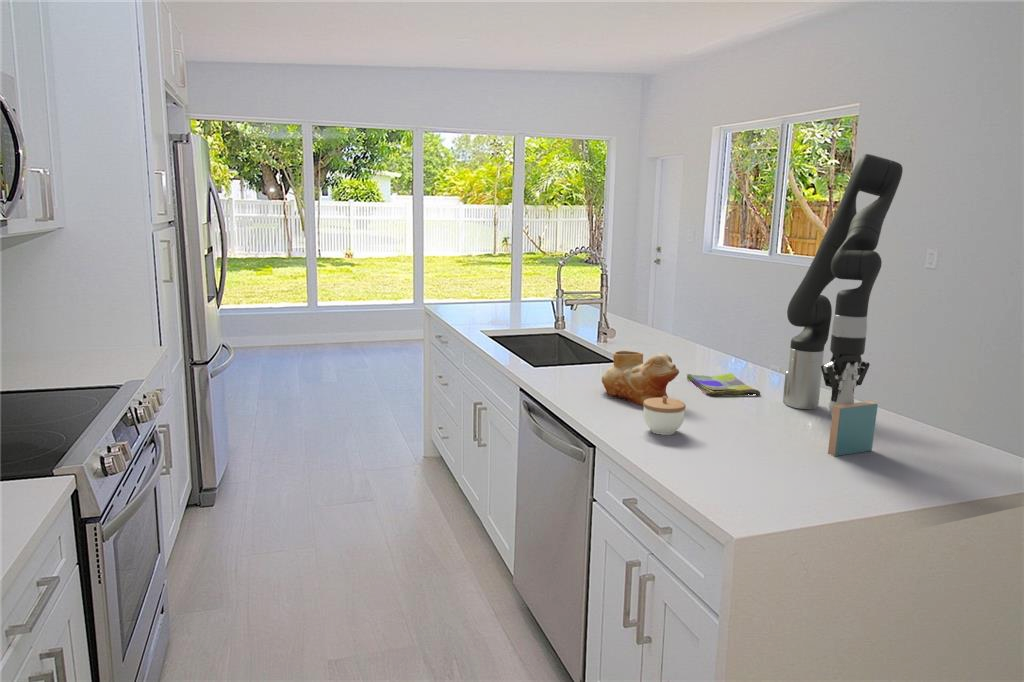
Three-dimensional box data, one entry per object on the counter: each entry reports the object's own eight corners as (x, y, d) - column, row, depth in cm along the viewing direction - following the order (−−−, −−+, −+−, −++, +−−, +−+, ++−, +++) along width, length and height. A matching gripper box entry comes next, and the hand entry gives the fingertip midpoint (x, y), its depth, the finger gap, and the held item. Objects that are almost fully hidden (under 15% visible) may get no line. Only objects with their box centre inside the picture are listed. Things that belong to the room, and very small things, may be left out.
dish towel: (734, 379, 245) (735, 371, 245) (762, 398, 221) (763, 390, 221) (684, 379, 244) (685, 371, 244) (707, 398, 220) (708, 390, 220)
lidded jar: (653, 439, 179) (655, 403, 177) (635, 426, 189) (636, 392, 187) (691, 436, 182) (693, 401, 180) (671, 424, 192) (673, 390, 190)
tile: (827, 453, 170) (833, 405, 168) (864, 447, 175) (870, 401, 173) (835, 456, 168) (841, 408, 166) (872, 450, 173) (878, 403, 170)
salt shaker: (838, 419, 170) (844, 367, 168) (822, 413, 176) (827, 361, 173) (858, 418, 172) (864, 365, 169) (842, 411, 177) (847, 360, 175)
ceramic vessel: (657, 411, 203) (660, 360, 201) (591, 392, 223) (593, 345, 220) (687, 403, 212) (690, 354, 209) (621, 386, 232) (623, 341, 229)
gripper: (857, 329, 176) (850, 397, 179) (814, 332, 171) (807, 402, 174) (883, 334, 169) (875, 404, 172) (839, 338, 164) (832, 410, 167)
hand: (841, 402), depth 173 cm, fingers closed on salt shaker, 3 cm apart
